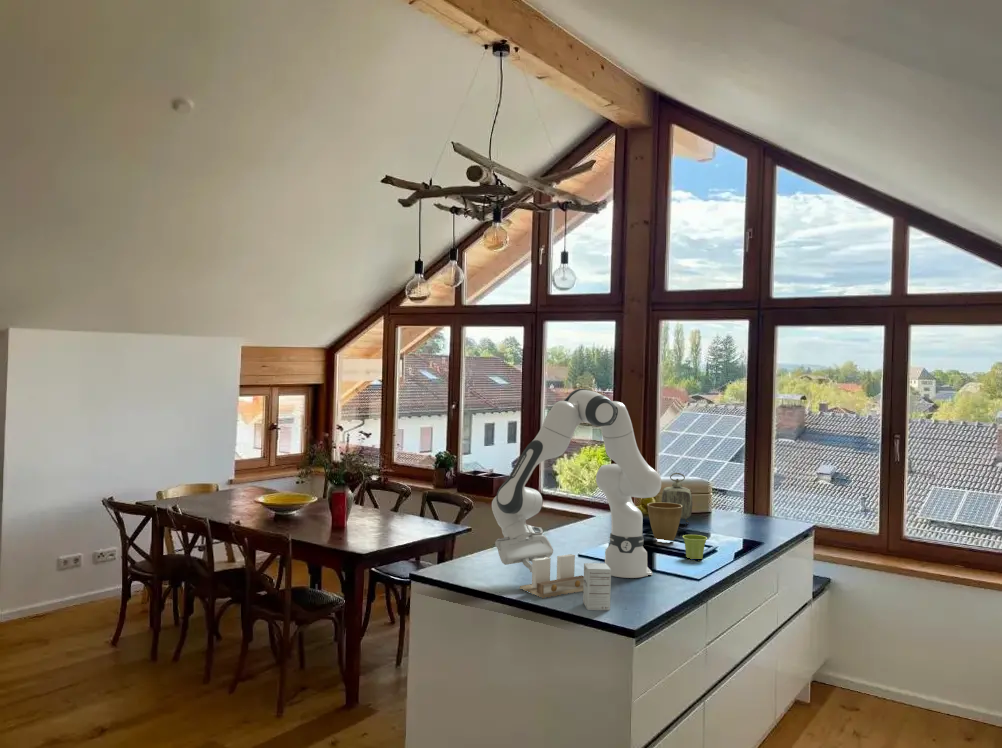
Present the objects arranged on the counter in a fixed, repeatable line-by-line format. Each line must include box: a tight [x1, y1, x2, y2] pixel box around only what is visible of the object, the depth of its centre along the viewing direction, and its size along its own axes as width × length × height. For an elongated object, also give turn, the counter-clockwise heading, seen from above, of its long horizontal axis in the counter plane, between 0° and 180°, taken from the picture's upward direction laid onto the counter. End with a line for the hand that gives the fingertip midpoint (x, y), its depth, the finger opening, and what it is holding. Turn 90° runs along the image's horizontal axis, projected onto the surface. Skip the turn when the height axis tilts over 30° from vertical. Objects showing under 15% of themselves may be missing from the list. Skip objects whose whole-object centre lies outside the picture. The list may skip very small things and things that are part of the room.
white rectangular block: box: [531, 557, 552, 588], centre depth 259 cm, size 2×6×9 cm, turn 126°
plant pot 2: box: [682, 534, 708, 560], centre depth 311 cm, size 9×9×9 cm
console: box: [519, 575, 584, 599], centre depth 261 cm, size 12×19×4 cm, turn 126°
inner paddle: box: [556, 553, 576, 580], centre depth 264 cm, size 2×6×9 cm, turn 126°
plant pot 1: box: [646, 501, 682, 540], centre depth 343 cm, size 15×15×16 cm
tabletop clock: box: [661, 472, 693, 523], centre depth 384 cm, size 14×9×25 cm, turn 79°
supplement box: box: [582, 562, 612, 611], centre depth 243 cm, size 7×7×13 cm
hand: (535, 570), depth 261 cm, fingers closed
